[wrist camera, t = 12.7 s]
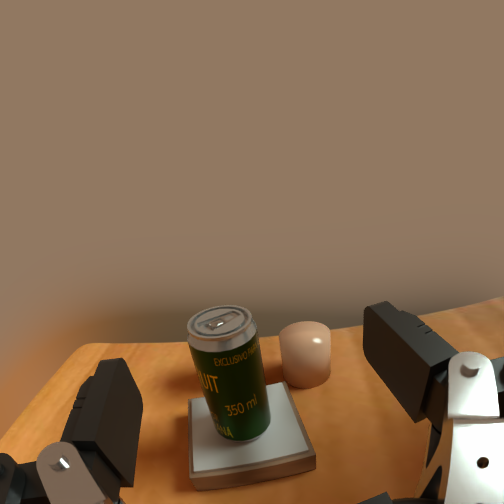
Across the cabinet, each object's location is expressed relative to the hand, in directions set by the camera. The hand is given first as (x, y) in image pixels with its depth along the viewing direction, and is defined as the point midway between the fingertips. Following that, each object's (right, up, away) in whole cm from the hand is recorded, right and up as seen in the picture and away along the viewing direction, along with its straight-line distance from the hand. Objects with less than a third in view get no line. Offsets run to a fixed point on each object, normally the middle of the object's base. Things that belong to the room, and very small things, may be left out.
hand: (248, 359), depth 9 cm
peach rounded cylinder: (+7, -12, +28) cm, 31 cm away
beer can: (-1, -13, +17) cm, 22 cm away
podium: (0, -16, +18) cm, 24 cm away
